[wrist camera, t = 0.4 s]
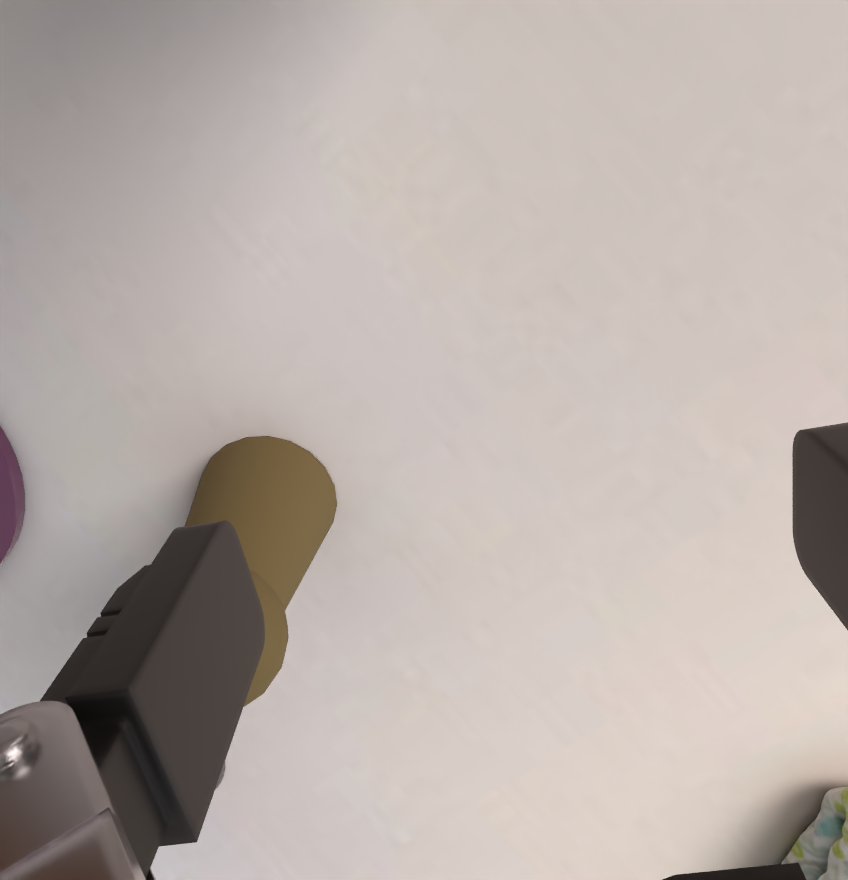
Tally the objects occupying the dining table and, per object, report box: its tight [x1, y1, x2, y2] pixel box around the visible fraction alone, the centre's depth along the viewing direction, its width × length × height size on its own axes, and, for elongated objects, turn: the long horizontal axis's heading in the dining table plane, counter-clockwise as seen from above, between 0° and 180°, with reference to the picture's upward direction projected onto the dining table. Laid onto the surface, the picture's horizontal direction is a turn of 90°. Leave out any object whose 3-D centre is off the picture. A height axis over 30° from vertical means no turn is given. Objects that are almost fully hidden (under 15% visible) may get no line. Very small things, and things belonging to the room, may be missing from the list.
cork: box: [185, 436, 337, 707], centre depth 28 cm, size 6×6×11 cm
